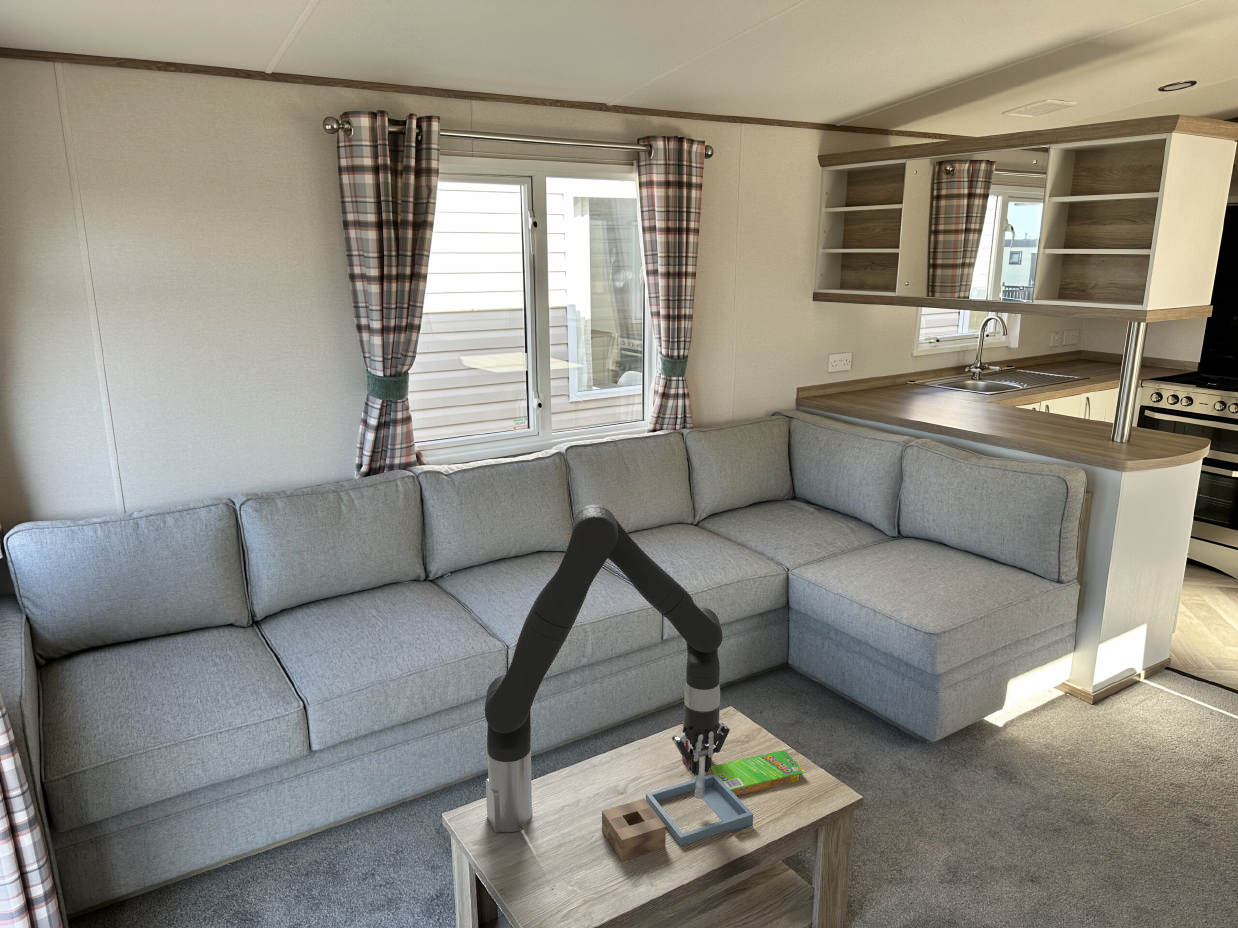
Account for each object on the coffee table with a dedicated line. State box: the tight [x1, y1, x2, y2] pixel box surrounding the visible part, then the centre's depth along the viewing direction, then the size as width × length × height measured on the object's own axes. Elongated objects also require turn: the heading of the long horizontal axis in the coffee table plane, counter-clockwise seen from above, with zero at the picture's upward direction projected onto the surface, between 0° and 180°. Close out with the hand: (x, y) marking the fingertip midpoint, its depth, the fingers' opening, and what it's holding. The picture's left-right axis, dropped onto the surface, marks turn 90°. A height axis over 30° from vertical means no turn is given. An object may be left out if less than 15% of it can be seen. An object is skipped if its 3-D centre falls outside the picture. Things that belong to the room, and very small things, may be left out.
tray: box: [645, 773, 754, 847], centre depth 189 cm, size 18×16×3 cm
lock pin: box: [694, 745, 709, 800], centre depth 186 cm, size 3×3×12 cm
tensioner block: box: [601, 798, 667, 862], centre depth 179 cm, size 10×10×6 cm
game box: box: [709, 750, 805, 796], centre depth 203 cm, size 3×10×20 cm
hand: (700, 771), depth 186 cm, fingers closed on lock pin, 2 cm apart
